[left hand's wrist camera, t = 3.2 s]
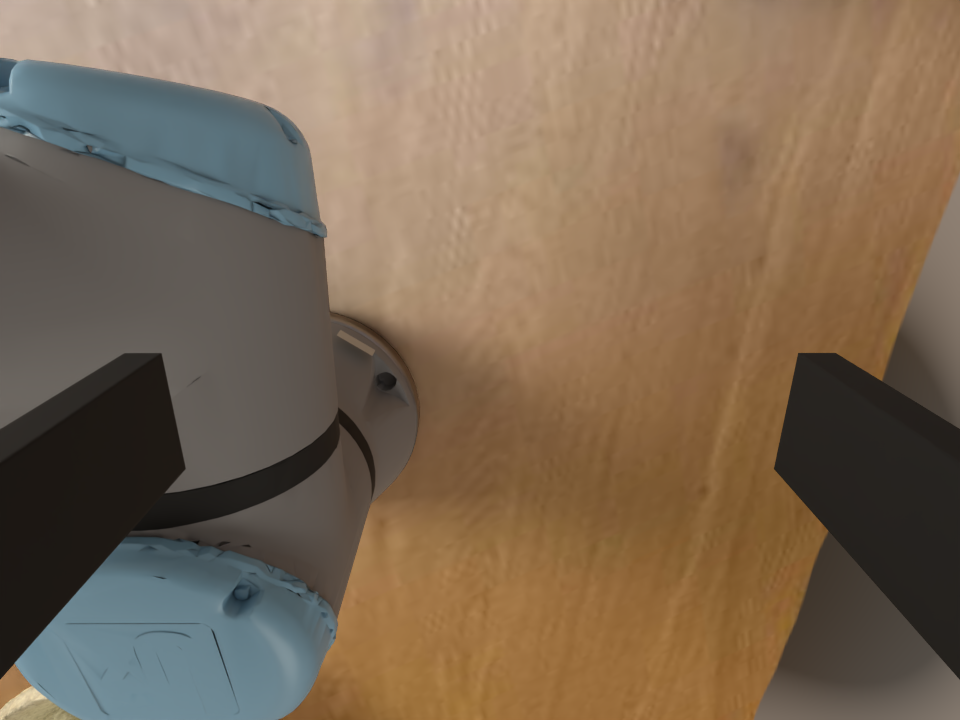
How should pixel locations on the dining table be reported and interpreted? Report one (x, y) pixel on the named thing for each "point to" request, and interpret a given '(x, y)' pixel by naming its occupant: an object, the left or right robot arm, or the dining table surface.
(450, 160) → the dining table surface
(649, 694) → the dining table surface
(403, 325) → the dining table surface
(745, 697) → the dining table surface
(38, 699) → the bowl
